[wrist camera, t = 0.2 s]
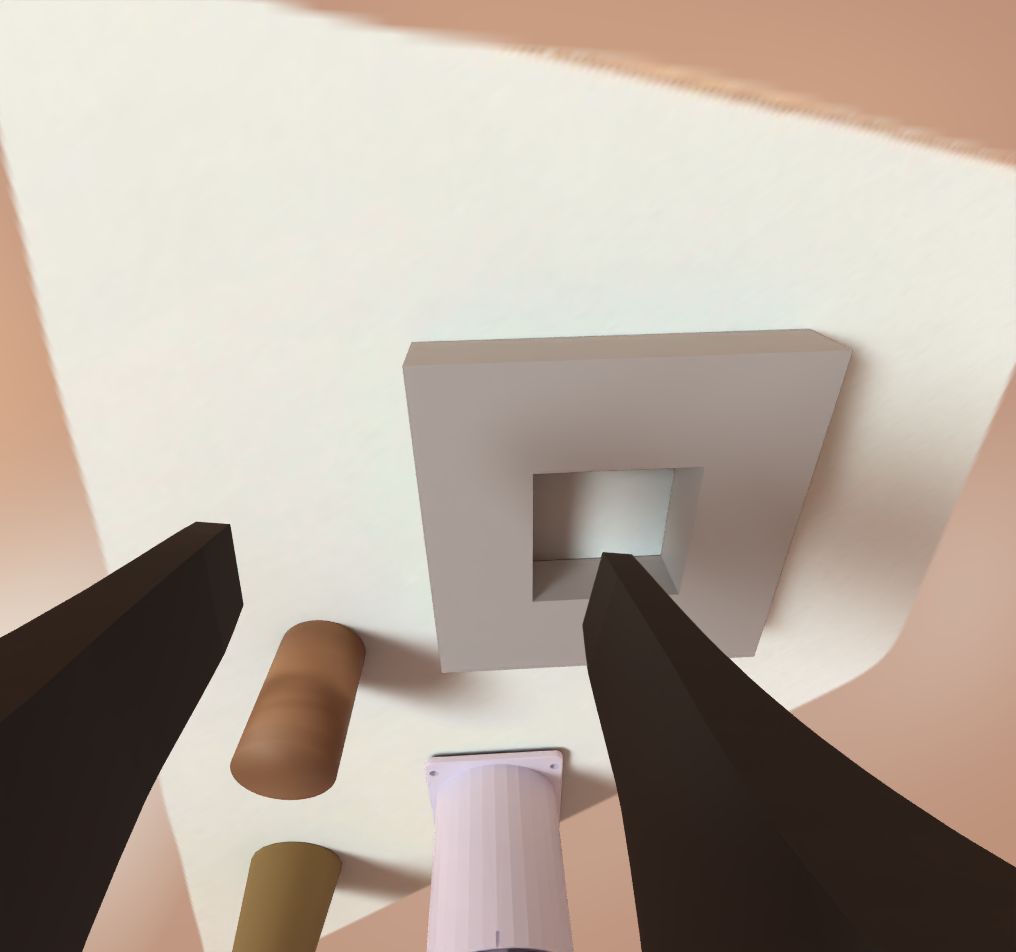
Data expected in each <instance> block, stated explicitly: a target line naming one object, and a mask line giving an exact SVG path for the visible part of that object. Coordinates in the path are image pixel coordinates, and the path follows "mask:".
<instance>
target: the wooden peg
mask: <svg viewBox="0 0 1016 952" xmlns="http://www.w3.org/2000/svg"><path fill="white" fill-rule="evenodd" d="M364 658H365V646H364V644H363V642H362V640H361V639H360V637H359V636H358V635H357V634H356V633H355V632H353V631H352V630H350V629H349V628H347V627H345V626H343V625H340V624H338V623H334V622H330V621H322V620H315V621H307V622H303V623H300V624H297V625H295V626H294V627H292V628H291V629H289V630H288V631H287V632H286V633H285V635H284V637H283V639H282V641H281V643H280V646H279V648H278V651H277V653H276V655H275V658H274V660H273V663H272V665H271V667H270V670H269V672H268V675H267V677H266V679H265V682H264V684H263V686H262V689H261V691H260V694H259V696H258V698H257V701H256V703H255V706H254V708H253V710H252V713H251V715H250V717H249V720H248V722H247V725H246V727H245V729H244V732H243V734H242V737H241V739H240V741H239V744H238V746H237V749H236V751H235V753H234V756H233V758H232V761H231V764H230V769H231V773H232V775H233V777H234V778H235V780H236V781H237V782H238V783H239V784H240V785H242V786H243V787H245V788H246V789H248V790H250V791H251V792H254V793H256V794H259V795H262V796H265V797H269V798H274V799H281V800H299V799H306V798H311V797H315V796H317V795H320V794H322V793H324V792H325V791H327V790H328V789H330V788H331V787H332V785H333V784H334V783H335V781H336V777H337V773H338V769H339V764H340V760H341V756H342V752H343V747H344V743H345V739H346V735H347V730H348V726H349V722H350V718H351V713H352V709H353V705H354V701H355V696H356V692H357V688H358V684H359V679H360V675H361V671H362V667H363V662H364Z"/></svg>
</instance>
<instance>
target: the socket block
mask: <svg viewBox="0 0 1016 952" xmlns="http://www.w3.org/2000/svg"><path fill="white" fill-rule="evenodd" d="M852 352H853V350H851V349H849V348H847V347H845V346H843V345H841V344H839V343H837V342H835V341H833V340H831V339H829V338H827V337H825V336H823V335H821V334H819V333H817V332H815V331H813V330H811V329H791V330H762V331H732V332H703V333H673V334H644V335H615V336H585V337H556V338H526V339H497V340H467V341H438V342H412V343H411V345H410V348H409V350H408V353H407V356H406V358H405V361H404V363H403V366H402V367H403V375H404V383H405V390H406V398H407V406H408V414H409V422H410V429H411V437H412V445H413V453H414V461H415V468H416V476H417V484H418V492H419V500H420V507H421V515H422V523H423V531H424V539H425V546H426V554H427V562H428V570H429V578H430V585H431V593H432V601H433V609H434V617H435V624H436V632H437V640H438V648H439V656H440V663H441V671H442V673H451V672H470V671H489V670H508V669H527V668H546V667H565V666H583V665H587V661H586V654H585V645H584V636H583V627H582V624H583V621H584V617H585V613H586V610H587V606H588V603H589V599H590V596H591V592H592V588H593V585H594V581H595V578H596V574H597V571H598V567H599V563H600V560H601V558H594V559H572V560H551V561H533V474H545V473H569V472H593V471H617V470H641V469H665V468H675V473H674V479H673V485H672V491H671V497H670V503H669V509H668V515H667V521H666V527H665V533H664V539H663V545H662V552H661V555H658V556H636V557H635V558H636V559H637V560H638V562H639V563H640V564H641V565H642V566H643V567H644V568H645V569H646V570H647V572H648V573H649V574H650V575H651V576H652V577H653V578H654V579H655V580H656V582H657V583H658V584H659V585H660V586H661V587H662V588H663V589H664V591H665V592H666V593H667V594H668V595H669V596H670V597H671V598H672V599H673V601H674V602H675V603H676V604H677V605H678V606H679V607H680V608H681V609H682V610H683V612H684V613H685V614H686V615H687V616H688V617H689V618H690V619H691V620H692V621H693V622H694V623H695V624H696V625H697V626H698V627H699V629H700V630H701V631H702V632H703V633H704V634H705V635H706V636H707V637H708V638H709V639H710V640H711V641H712V642H713V643H714V644H715V645H716V646H717V647H718V648H719V649H720V650H721V651H722V652H723V653H724V654H725V655H726V656H727V657H728V658H735V657H753V656H754V655H755V652H756V649H757V646H758V643H759V640H760V637H761V634H762V631H763V627H764V624H765V621H766V618H767V615H768V612H769V609H770V606H771V603H772V600H773V596H774V593H775V590H776V587H777V584H778V581H779V578H780V575H781V572H782V569H783V565H784V562H785V559H786V556H787V553H788V550H789V547H790V544H791V541H792V538H793V534H794V531H795V528H796V525H797V522H798V519H799V516H800V513H801V510H802V507H803V504H804V500H805V497H806V494H807V491H808V488H809V485H810V482H811V479H812V476H813V473H814V469H815V466H816V463H817V460H818V457H819V454H820V451H821V448H822V445H823V442H824V438H825V435H826V432H827V429H828V426H829V423H830V420H831V417H832V414H833V411H834V407H835V404H836V401H837V398H838V395H839V392H840V389H841V386H842V383H843V380H844V376H845V373H846V370H847V367H848V364H849V361H850V358H851V355H852Z"/></svg>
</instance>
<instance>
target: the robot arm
mask: <svg viewBox="0 0 1016 952" xmlns="http://www.w3.org/2000/svg"><path fill="white" fill-rule="evenodd" d="M242 608H243V599H242V593H241V587H240V581H239V575H238V569H237V563H236V557H235V551H234V545H233V539H232V533H231V527H230V524H220V523H206V522H195V523H193V524H191V525H189V526H188V527H186V528H184V529H182V530H181V531H179V532H177V533H176V534H174V535H173V536H171V537H169V538H168V539H166V540H165V541H163V542H161V543H160V544H158V545H157V546H155V547H153V548H152V549H150V550H149V551H147V552H145V553H144V554H142V555H141V556H139V557H137V558H136V559H134V560H133V561H131V562H129V563H128V564H126V565H125V566H123V567H121V568H120V569H118V570H116V571H115V572H113V573H112V574H110V575H108V576H107V577H105V578H103V579H102V580H100V581H99V582H97V583H95V584H94V585H92V586H91V587H89V588H87V589H86V590H84V591H82V592H81V593H79V594H77V595H75V596H73V597H72V598H70V599H68V600H66V601H65V602H63V603H61V604H59V605H58V606H56V607H54V608H52V609H51V610H49V611H47V612H45V613H44V614H42V615H40V616H38V617H37V618H35V619H33V620H31V621H30V622H28V623H26V624H24V625H23V626H21V627H19V628H18V629H16V630H14V631H12V632H10V633H8V634H7V635H4V636H3V637H1V638H0V952H82V951H83V948H84V945H85V942H86V940H87V937H88V935H89V933H90V930H91V927H92V925H93V923H94V920H95V918H96V916H97V913H98V911H99V908H100V906H101V903H102V901H103V899H104V896H105V893H106V891H107V889H108V886H109V884H110V882H111V879H112V877H113V874H114V872H115V869H116V867H117V865H118V862H119V860H120V858H121V855H122V853H123V851H124V848H125V846H126V844H127V842H128V839H129V837H130V835H131V832H132V830H133V828H134V826H135V823H136V821H137V819H138V816H139V814H140V812H141V810H142V807H143V805H144V803H145V800H146V798H147V796H148V794H149V792H150V790H151V788H152V786H153V784H154V782H155V780H156V778H157V777H158V775H159V773H160V771H161V769H162V767H163V765H164V763H165V762H166V760H167V758H168V756H169V754H170V752H171V751H172V749H173V747H174V745H175V743H176V742H177V740H178V738H179V736H180V734H181V733H182V731H183V729H184V727H185V725H186V724H187V722H188V720H189V718H190V716H191V715H192V713H193V711H194V709H195V707H196V705H197V704H198V702H199V700H200V698H201V696H202V695H203V693H204V691H205V689H206V687H207V685H208V684H209V682H210V680H211V678H212V676H213V674H214V673H215V671H216V669H217V667H218V665H219V663H220V661H221V659H222V658H223V656H224V654H225V651H226V649H227V646H228V644H229V641H230V639H231V637H232V634H233V632H234V629H235V626H236V624H237V621H238V618H239V616H240V613H241V610H242ZM582 627H583V636H584V645H585V654H586V661H587V669H588V674H589V679H590V683H591V687H592V691H593V695H594V699H595V703H596V707H597V711H598V715H599V719H600V723H601V727H602V731H603V735H604V739H605V743H606V747H607V751H608V755H609V759H610V763H611V766H612V770H613V774H614V778H615V782H616V787H617V792H618V796H619V801H620V806H621V810H622V817H623V823H624V830H625V835H626V843H627V849H628V855H629V862H630V867H631V875H632V882H633V890H634V896H635V904H636V910H637V918H638V925H639V933H640V941H641V949H642V952H1016V867H1014V866H1013V865H1011V864H1009V863H1007V862H1006V861H1004V860H1003V859H1001V858H999V857H997V856H996V855H994V854H993V853H991V852H989V851H988V850H986V849H984V848H983V847H981V846H979V845H977V844H976V843H974V842H972V841H971V840H969V839H968V838H966V837H964V836H962V835H961V834H959V833H958V832H956V831H955V830H953V829H951V828H950V827H948V826H947V825H945V824H944V823H942V822H941V821H939V820H938V819H936V818H935V817H933V816H932V815H930V814H929V813H927V812H925V811H924V810H922V809H921V808H919V807H918V806H916V805H915V804H913V803H912V802H910V801H909V800H907V799H906V798H904V797H903V796H901V795H900V794H898V793H897V792H895V791H894V790H892V789H891V788H890V787H888V786H887V785H885V784H884V783H882V782H881V781H880V780H878V779H877V778H875V777H874V776H872V775H871V774H870V773H868V772H867V771H865V770H864V769H863V768H861V767H860V766H858V765H857V764H856V763H854V762H853V761H852V760H850V759H849V758H848V757H846V756H845V755H843V754H842V753H841V752H840V751H838V750H837V749H836V748H834V747H833V746H832V745H830V744H829V743H828V742H826V741H825V740H824V739H822V738H821V737H820V736H818V735H817V734H816V733H814V732H813V731H812V730H811V729H810V728H808V727H807V726H806V725H804V724H803V723H802V722H801V721H799V720H798V719H797V718H796V717H795V716H793V715H792V714H791V713H790V712H789V711H788V710H786V709H785V708H784V707H783V706H782V705H780V704H779V703H778V702H777V701H776V700H775V699H773V698H772V697H771V696H770V695H769V694H767V693H766V692H765V691H764V690H763V689H762V688H761V687H759V686H758V685H757V684H756V683H755V682H754V681H753V680H752V679H751V678H749V677H748V676H747V675H746V674H745V673H744V672H743V671H742V670H741V669H740V668H739V667H738V666H737V665H736V664H735V663H734V662H733V661H732V660H731V659H729V658H728V657H727V656H726V655H725V654H724V653H723V652H722V651H721V650H720V649H719V648H718V647H717V646H716V645H715V644H714V643H713V642H712V641H711V640H710V639H709V638H708V637H707V636H706V635H705V634H704V633H703V632H702V631H701V630H700V629H699V627H698V626H697V625H696V624H695V623H694V622H693V621H692V620H691V619H690V618H689V617H688V616H687V615H686V614H685V613H684V612H683V610H682V609H681V608H680V607H679V606H678V605H677V604H676V603H675V602H674V601H673V599H672V598H671V597H670V596H669V595H668V594H667V593H666V592H665V591H664V589H663V588H662V587H661V586H660V585H659V584H658V583H657V582H656V580H655V579H654V578H653V577H652V576H651V575H650V574H649V573H648V572H647V570H646V569H645V568H644V567H643V566H642V565H641V564H640V563H639V562H638V560H637V559H636V558H635V557H634V556H633V555H632V554H619V553H606V552H603V553H602V556H601V560H600V563H599V567H598V571H597V574H596V578H595V581H594V585H593V588H592V592H591V596H590V599H589V603H588V606H587V610H586V613H585V617H584V621H583V624H582ZM562 771H563V756H562V753H561V752H560V751H557V750H551V751H533V752H516V753H499V754H481V755H464V756H447V757H432V758H429V759H427V760H426V761H425V773H426V779H427V785H428V790H429V796H430V801H431V807H432V813H433V818H434V824H435V835H434V850H433V865H432V880H431V896H430V910H429V925H428V940H427V952H574V949H573V941H572V933H571V924H570V916H569V908H568V899H567V891H566V883H565V874H564V866H563V858H562V849H561V841H560V833H559V823H560V806H561V788H562Z"/></svg>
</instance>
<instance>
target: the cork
mask: <svg viewBox="0 0 1016 952" xmlns="http://www.w3.org/2000/svg"><path fill="white" fill-rule="evenodd" d="M341 865H342V862H341V860H340V859H339V857H338V856H337V855H336V854H335V853H333V852H332V851H330V850H329V849H326V848H324V847H321V846H319V845H314V844H309V843H303V842H284V843H275V844H272V845H269V846H266V847H263V848H262V849H260V850H259V851H257V852H255V854H254V856H253V857H252V859H251V864H250V869H249V874H248V879H247V883H246V888H245V893H244V898H243V902H242V907H241V912H240V917H239V922H238V926H237V931H236V936H235V941H234V946H233V950H232V952H315V951H316V948H317V944H318V941H319V938H320V935H321V932H322V929H323V925H324V922H325V919H326V916H327V913H328V909H329V906H330V903H331V900H332V897H333V893H334V890H335V887H336V884H337V881H338V877H339V874H340V871H341Z"/></svg>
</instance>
